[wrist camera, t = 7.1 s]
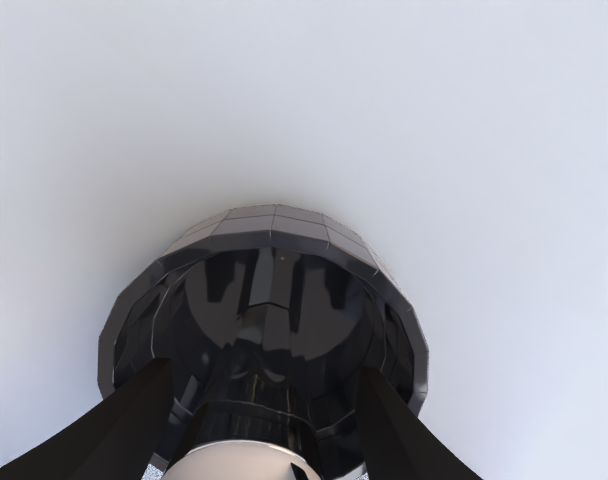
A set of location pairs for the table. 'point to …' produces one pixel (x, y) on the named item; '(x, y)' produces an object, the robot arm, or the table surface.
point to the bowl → (279, 292)
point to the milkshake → (253, 408)
